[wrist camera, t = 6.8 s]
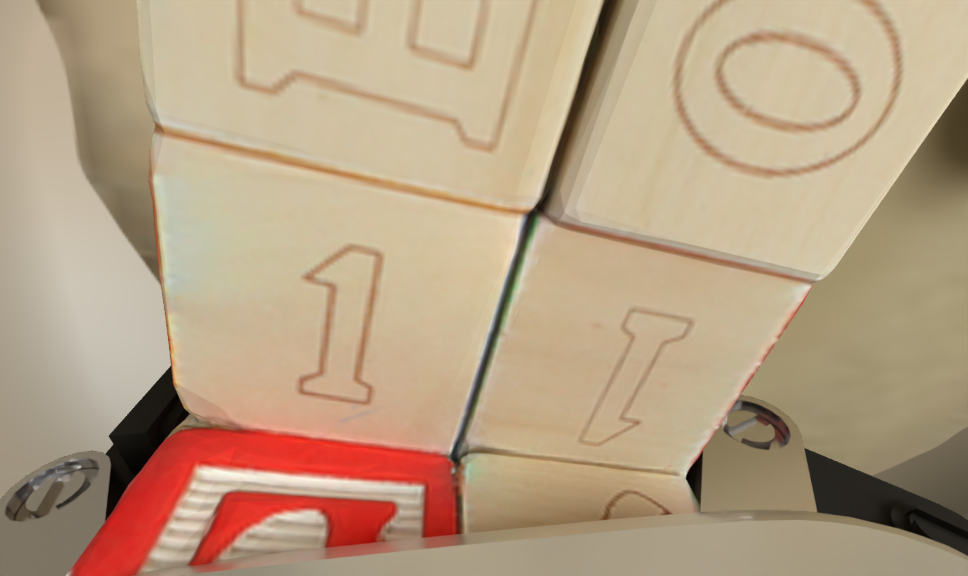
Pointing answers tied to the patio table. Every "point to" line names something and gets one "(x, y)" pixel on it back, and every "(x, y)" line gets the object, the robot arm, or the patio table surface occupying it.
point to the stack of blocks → (491, 249)
